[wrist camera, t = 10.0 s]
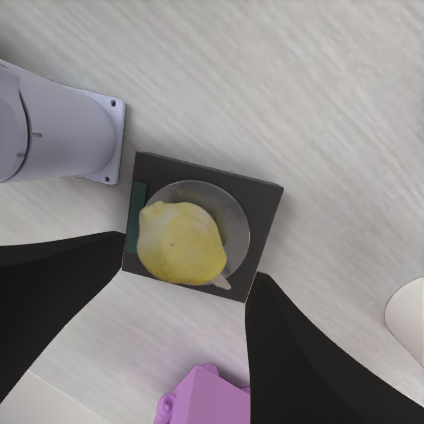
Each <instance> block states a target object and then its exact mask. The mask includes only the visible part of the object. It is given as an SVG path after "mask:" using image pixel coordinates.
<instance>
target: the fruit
mask: <svg viewBox="0 0 424 424" xmlns="http://www.w3.org/2000/svg"><path fill="white" fill-rule="evenodd" d="M139 225H140V232H139V238H138V241H137V252H138V256H139V259H140V260H141V262H142V263H143V265H144V266H145V267H146V269H147V270H148V271H149V272H150V273H151V274H152V275H154V276H155V277H156V278H158V279H160V280H162V281H165V282H168V283H176V284H177V283H186V284H190V285H200V284H204V283H207V282H209V281H211V282H212V283H213V284H214V285H216V286H218V287H221V288H224V289H227V290H229V289H230V288H231V286H230V284H229V283H228V281H227V280H226V279H225V278H224V277H223V276H222V275H221V274H220V273H221V272H222V270H223V269H224V267H225V264H226V260H227V258H226V254H225V251H224V249H223V246H222V242H221V238H220V235H219V232H218V228H217V226H216V223H215V221H214V220H213V218H212V217H211V216H210V215H209V214H208V213H207V212H206V211H205V210H204V209H202V208H201V207H199V206H197V205H195V204H192V203H188V202H182V203H174V204H173V203H164V202H162V201H158V202H155V203H154V204H152V205H150V206H147V207H145V208H143V209H142V210H141V211H140V215H139Z"/></svg>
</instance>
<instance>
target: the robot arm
mask: <svg viewBox="0 0 424 424" xmlns="http://www.w3.org/2000/svg"><path fill="white" fill-rule="evenodd" d="M114 101H115V102H116V105H115V106H113V102H114ZM125 109H126V104H125V102H124V101H123V100H121V99H118V98H114V97H110V96H106V95H101V94H97V93H93V92H89V91H85V90H81V89H76V88H72V87H68V86H64V85H60V84H57V83H55V82H52V81H50V80H48V79H46V78H43V77H41V76H39V75H36V74H34V73H32V72H29V71H27V70H25V69H22V68H20V67H18V66H15V65H13V64H11V63H8V62H6V61H4V60H1V59H0V183H7V182H16V181H26V180H35V179H45V178H54V177H63V176H73V175H74V176H77V177H81V178H85V179H89V180H93V181H97V182H101V183H105V184H109V185H116V184H117V183H118V179H119V169H120V159H121V149H122V139H123V129H124V119H125ZM107 177H109V181H108V180H107ZM125 237H126V234H124V233H120V232H117V231H109V232H103V233H97V234H91V235H86V236H81V237H75V238H69V239H63V240H56V241H50V242H42V243H34V244H23V245H9V246H0V404H1V402H2V401H3V400H4V399H5V397H6V396H7V395H8V393H9V392H10V391H11V390H12V388H13V387H14V386H15V385H16V383H17V382H18V381H19V380H20V378H21V377H22V376H23V375H24V373H25V372H26V371H27V370H28V368H29V367H30V366H31V365H32V364H33V362H34V361H35V360H36V359H37V358H38V356H39V355H40V354H41V353H42V352H43V350H44V349H45V348H46V347H47V346H48V344H49V343H50V342H51V341H52V340H53V339H54V338H55V336H56V335H57V334H58V333H59V332H60V331H61V330H62V328H63V327H64V326H65V325H66V324H67V323H68V322H69V321H70V320H71V319H72V318H73V317H74V316H75V315H76V314H77V313H78V312H79V311H80V310H81V309H82V308H83V307H84V306H85V305H86V304H87V303H88V302H89V301H91V300H92V299H93V298H94V297H95V296H96V295H97V294H98V293H99V292H100V291H101V290H102V289H103V288H104V287H105V286H106V285H107V284H108V283H109V282H110V281H111V280H112V278H113V277H114V276H115V275H116V273H117V272H118V271H119V270H120V268H121V267H122V259H123V252H124V245H125ZM245 329H246V340H247V351H248V361H249V372H250V424H424V407H422V406H421V405H419V404H417V403H416V402H414V401H413V400H411V399H410V398H408V397H407V396H405V395H403V394H402V393H400V392H399V391H397V390H396V389H395V388H393V387H392V386H390V385H389V384H388V383H386V382H385V381H383V380H382V379H380V378H379V377H378V376H376V375H375V374H373V373H372V372H371V371H369V370H368V369H367V368H365V367H364V366H363V365H361V364H360V363H359V362H357V361H356V360H355V359H354V358H352V357H351V356H350V355H349V354H347V353H346V352H345V351H344V350H342V349H341V348H340V347H339V346H337V345H336V344H335V343H334V342H333V341H332V340H330V339H329V338H328V337H327V336H326V335H325V334H324V333H323V332H322V331H320V330H319V329H318V328H317V327H316V326H315V325H314V324H313V323H312V322H311V321H310V320H309V319H308V318H307V317H306V316H305V315H304V314H303V313H302V312H301V311H300V310H299V309H298V308H297V306H296V305H295V304H294V303H293V302H292V301H291V300H290V299H289V298H288V296H287V295H286V294H285V293H284V292H283V291H282V289H281V288H280V287H279V286H278V285H277V283H276V282H275V281H274V280H273V279H272V278H271V277H270V276H269V275H268V274H264V273H261V272H257V273H256V276H255V278H254V281H253V284H252V287H251V290H250V293H249V295H248V298H247V301H246V306H245Z"/></svg>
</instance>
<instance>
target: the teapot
mask: <svg viewBox="0 0 424 424" xmlns="http://www.w3.org/2000/svg"><path fill="white" fill-rule="evenodd" d="M153 424H250V387H244V388H241V389H239V388H237V387H236V386H234V385H232V384H230V383H229V382H227V381H225V380H224V379H222V378H220V377H219V371H218V369H217V368H216V367H215V366H213V365H210V364H206V365H203V366H202V367H201V366H200V365H198V364H196V365H195V366H194V368H193V369H192V370H191V371H190V372H189V373H188V374H187V376H186V377H185V378H184V379H183V380H182V381H181V382H180V384H179V385H178V386H177V387H176V388H175V389H174V390H173V392H172V393H166V394H164V395H163V396H162V397H161V398H160V400H159V402H158V405H157V413H156V416H155V419H154V423H153Z"/></svg>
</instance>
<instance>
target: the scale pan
mask: <svg viewBox="0 0 424 424" xmlns="http://www.w3.org/2000/svg"><path fill="white" fill-rule="evenodd" d="M158 201H162V202H164V203H173V204H174V203H182V202H188V203H192V204H195V205H197V206H199V207H201V208H202V209H204V210H205V211H206V212H207V213H208V214H209V215H210V216H211V217H212V218H213V220H214V221H215V223H216V226H217V228H218V232H219V235H220V238H221V242H222V246H223V249H224V251H225V254H226V258H227V260H226V264H225V267H224V269H223V270H222V272H221V273H220V274H221V275H222V276H223V277H224V278H227V277H228V276H230V275H231V274H232V273H233V272H234V271H235V270H236V269H237V268H238V267H239V266H240V265H241V263H242V262H243V260H244V258H245V256H246V254H247V251H248V248H249V242H250V229H249V224H248V220H247V217H246V214H245V212H244V210H243V208H242V207H241V205H240V204H239V202H238V201H237V200H236V199H235V198H234V196H233V195H231V194H230V193H229V192H228V191H227V190H225V189H223V188H222V187H220V186H218V185H216V184H214V183H211V182H208V181H203V180H195V179H190V180H182V181H177V182H174V183H172V184H169V185H167V186H165V187H163V188H162V189H160V190H159V191H158V192H156V193H155V194H154V195H153V196H152V197H151V198H150V199H149V201H148V202H147V203H146V205H145V207H147V206H150V205H152V204H154V203H155V202H158ZM145 207H144V208H145ZM139 232H140V225H139ZM182 284H186V283H182ZM209 284H213V283H212V282H211V281H209V282H207V283H204V284H200V285H209ZM187 285H190V284H187ZM195 286H197V285H195Z"/></svg>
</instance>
